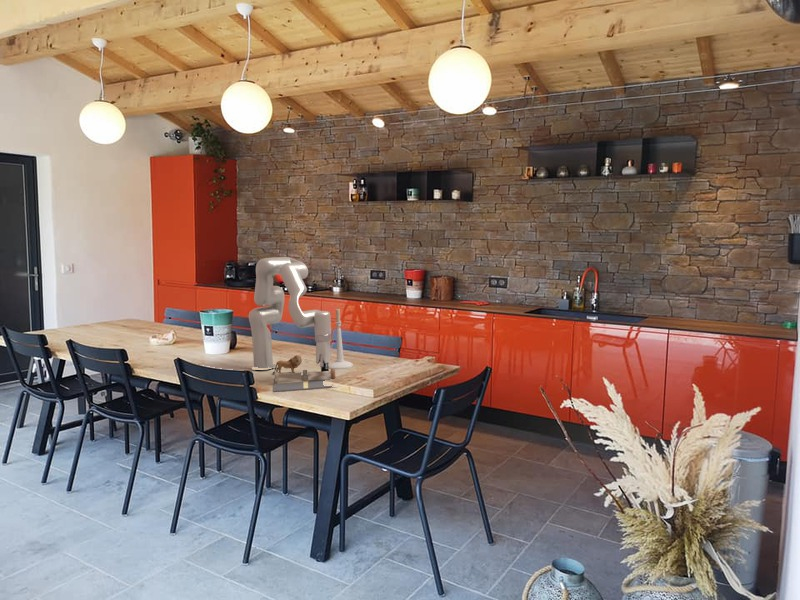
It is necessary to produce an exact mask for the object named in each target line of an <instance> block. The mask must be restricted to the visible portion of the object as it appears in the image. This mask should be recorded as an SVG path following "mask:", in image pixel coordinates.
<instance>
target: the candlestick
mask: <svg viewBox="0 0 800 600" xmlns="http://www.w3.org/2000/svg"><path fill="white" fill-rule="evenodd" d="M335 316H336V317H335V319H336V321H335V322H334V324H335V326H336V328H337V329H336V360H335V361H333V362H331V363H329V370H331V369H335V370H346V369H350V368H353V367H354V364H353V363H352V362H350V361H348V360H345V358H344V357H345V356H344V351H343V350H344V348H343V341H342V340H343V339H342V329H341V327H342V321H341V309H340V308H336V309H335Z"/></svg>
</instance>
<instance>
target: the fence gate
mask: <svg viewBox="0 0 800 600" xmlns="http://www.w3.org/2000/svg"><path fill="white" fill-rule="evenodd" d="M307 375H308V380H330V379H335V376H336V369H330V370H329V371H322V372H321V371H307Z"/></svg>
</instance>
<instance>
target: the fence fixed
mask: <svg viewBox="0 0 800 600" xmlns="http://www.w3.org/2000/svg"><path fill="white" fill-rule="evenodd" d="M273 372H274V371H273ZM273 374H274V375H273V376H274V383H286V382H299V381H302V379H301V375H303V381H308V376H307V375H308V369H303V370H302V372H295V373H292V372H290V373H289V372H287V373H282V374H280V373H279V371H278V372H276V371H275V372H274V373H273Z"/></svg>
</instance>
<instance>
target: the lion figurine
mask: <svg viewBox="0 0 800 600" xmlns="http://www.w3.org/2000/svg"><path fill="white" fill-rule="evenodd" d="M302 360H303V359H302V356H301V355H299V354H297V355H295V356H293V357H292V358H289V360H278V361H276V363H275V365H276V367H275V368H274V371H273V372H272V373H273V374H274V372H279V374H283V372H281V371H282V368H284V369H290V370H291V373H296V371H295V369H296V368H298V367H299V366H300V365H301V364H302Z"/></svg>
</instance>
